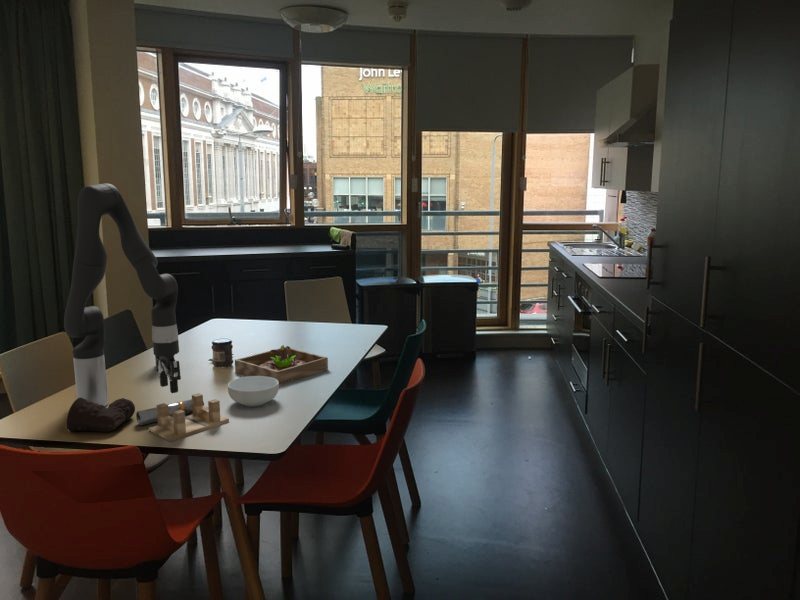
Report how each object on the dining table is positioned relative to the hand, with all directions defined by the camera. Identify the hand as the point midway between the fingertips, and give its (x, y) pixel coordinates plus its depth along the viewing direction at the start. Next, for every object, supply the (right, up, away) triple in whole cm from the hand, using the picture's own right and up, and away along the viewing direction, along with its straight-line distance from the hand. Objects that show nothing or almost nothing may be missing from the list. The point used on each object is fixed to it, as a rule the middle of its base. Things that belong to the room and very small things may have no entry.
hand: (169, 389), depth 201 cm
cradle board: (+8, -11, -5) cm, 14 cm away
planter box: (+26, 0, +52) cm, 58 cm away
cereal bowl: (+23, -7, +16) cm, 29 cm away
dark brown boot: (-19, -11, -5) cm, 22 cm away
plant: (+26, -1, +52) cm, 58 cm away
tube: (0, -9, +2) cm, 9 cm away
